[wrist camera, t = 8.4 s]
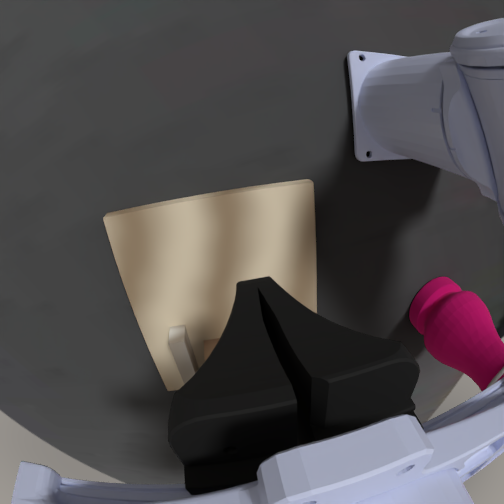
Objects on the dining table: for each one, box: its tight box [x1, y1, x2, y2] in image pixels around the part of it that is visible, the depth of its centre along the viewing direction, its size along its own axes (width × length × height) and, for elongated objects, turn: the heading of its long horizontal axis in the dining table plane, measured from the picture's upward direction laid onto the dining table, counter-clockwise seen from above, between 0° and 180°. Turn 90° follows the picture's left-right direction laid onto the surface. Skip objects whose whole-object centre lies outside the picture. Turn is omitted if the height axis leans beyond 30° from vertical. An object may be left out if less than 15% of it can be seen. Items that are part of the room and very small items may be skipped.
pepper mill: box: [409, 277, 504, 391], centre depth 19 cm, size 7×7×20 cm
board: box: [103, 179, 317, 391], centre depth 23 cm, size 14×17×3 cm
